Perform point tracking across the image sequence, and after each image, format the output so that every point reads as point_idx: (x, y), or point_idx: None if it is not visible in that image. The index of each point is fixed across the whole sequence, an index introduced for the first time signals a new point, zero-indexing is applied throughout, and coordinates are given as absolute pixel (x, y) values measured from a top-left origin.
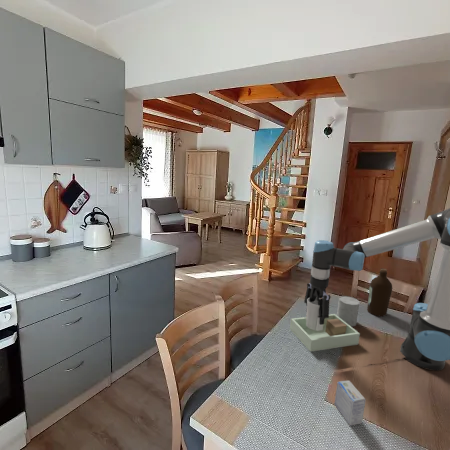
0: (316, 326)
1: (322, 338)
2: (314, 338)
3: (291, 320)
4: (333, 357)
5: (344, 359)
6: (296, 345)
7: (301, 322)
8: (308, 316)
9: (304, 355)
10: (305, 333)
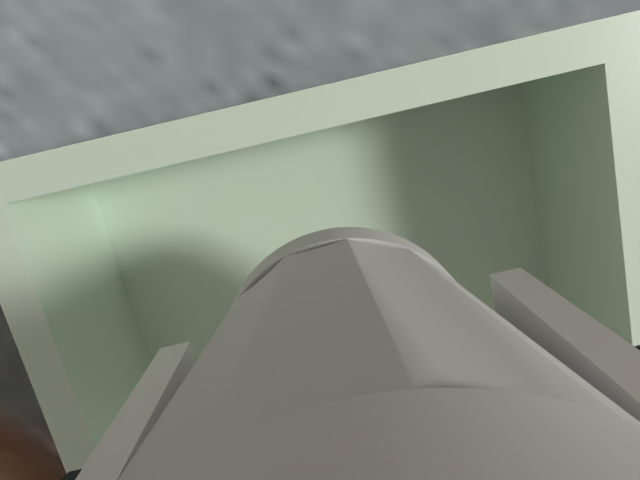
0: (171, 373)
1: (30, 366)
2: (14, 241)
3: (605, 20)
4: (26, 385)
5: (10, 475)
6: (203, 35)
7: (583, 216)
8: (320, 293)
9: (14, 74)
10: (143, 134)
